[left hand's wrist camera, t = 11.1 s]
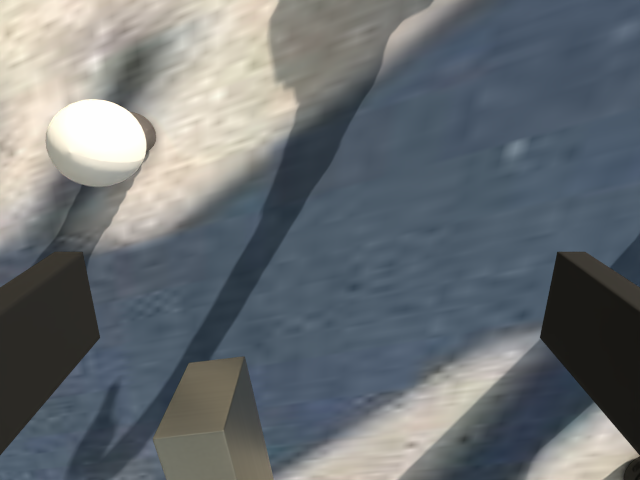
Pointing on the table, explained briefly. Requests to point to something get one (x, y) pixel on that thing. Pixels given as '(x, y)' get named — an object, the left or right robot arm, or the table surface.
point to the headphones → (633, 470)
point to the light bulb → (98, 142)
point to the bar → (213, 426)
